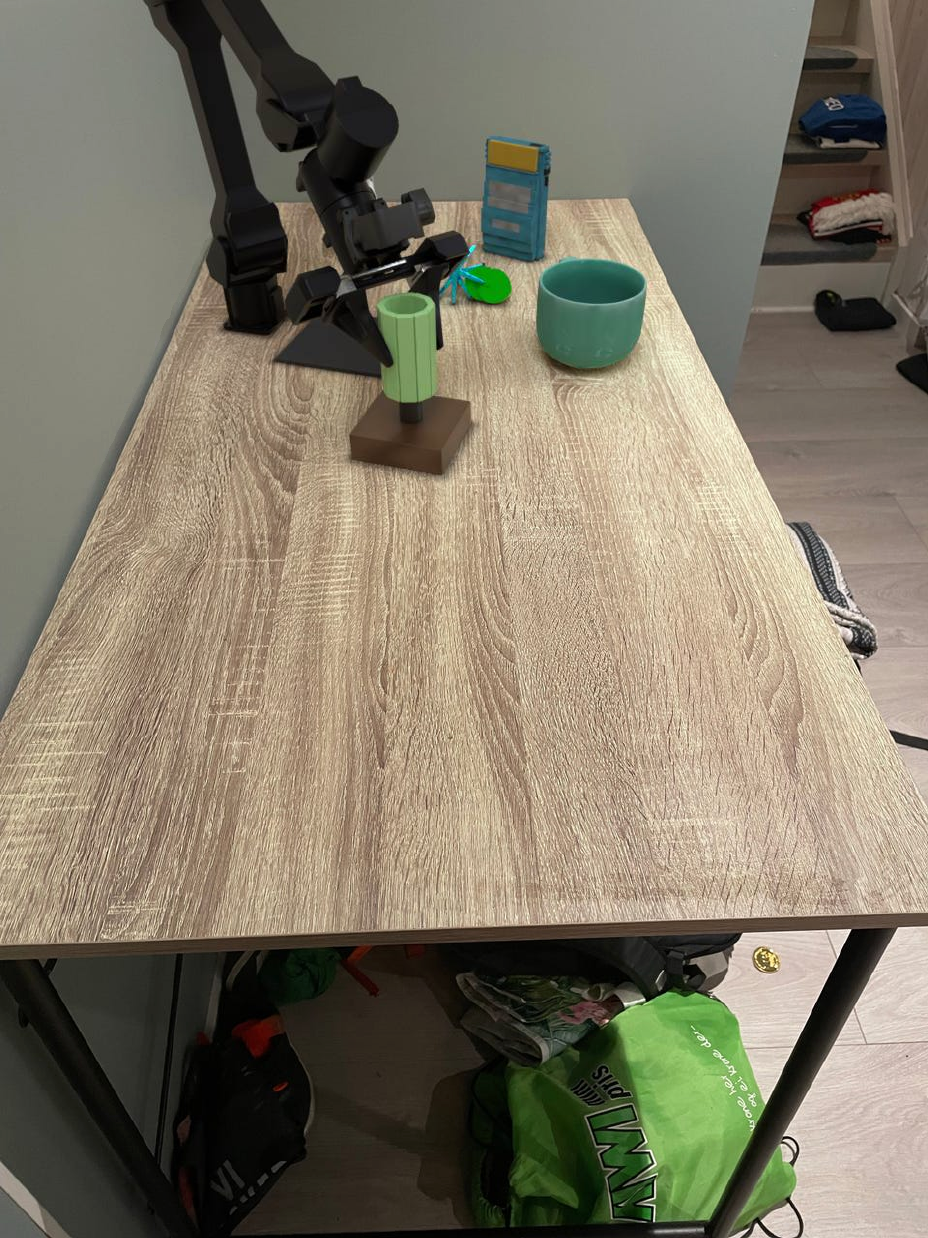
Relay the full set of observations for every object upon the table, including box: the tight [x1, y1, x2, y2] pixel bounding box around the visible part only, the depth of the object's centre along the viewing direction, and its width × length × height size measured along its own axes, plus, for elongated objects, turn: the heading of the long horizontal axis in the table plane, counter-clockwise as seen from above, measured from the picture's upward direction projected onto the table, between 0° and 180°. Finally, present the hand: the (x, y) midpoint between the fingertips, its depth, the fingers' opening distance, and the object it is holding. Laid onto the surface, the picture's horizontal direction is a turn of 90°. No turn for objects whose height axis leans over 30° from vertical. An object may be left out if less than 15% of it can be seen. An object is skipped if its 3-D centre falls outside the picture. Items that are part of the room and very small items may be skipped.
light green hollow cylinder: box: [376, 292, 438, 402], centre depth 90 cm, size 5×6×9 cm
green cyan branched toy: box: [439, 244, 513, 305], centre depth 123 cm, size 12×7×8 cm
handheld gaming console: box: [480, 135, 552, 263], centre depth 129 cm, size 10×4×15 cm, turn 58°
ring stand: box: [348, 389, 472, 476], centre depth 95 cm, size 10×10×7 cm
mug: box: [535, 256, 648, 371], centre depth 110 cm, size 17×13×10 cm
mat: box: [274, 309, 382, 379], centre depth 114 cm, size 14×14×1 cm
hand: (415, 357), depth 90 cm, fingers closed on light green hollow cylinder, 5 cm apart
